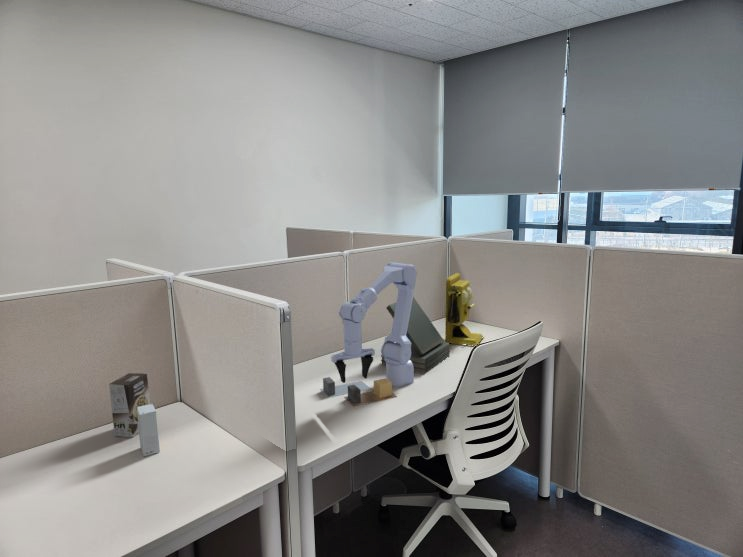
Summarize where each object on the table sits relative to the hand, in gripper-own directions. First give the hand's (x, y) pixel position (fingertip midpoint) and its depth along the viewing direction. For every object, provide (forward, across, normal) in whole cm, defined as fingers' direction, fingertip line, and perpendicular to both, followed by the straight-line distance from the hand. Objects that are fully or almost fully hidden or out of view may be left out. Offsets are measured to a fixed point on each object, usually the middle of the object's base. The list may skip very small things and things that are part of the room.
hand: (354, 379), depth 159 cm
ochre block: (+7, -10, 0) cm, 13 cm away
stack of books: (+9, -39, -26) cm, 47 cm away
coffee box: (+8, +66, -14) cm, 68 cm away
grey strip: (+8, 0, -10) cm, 13 cm away
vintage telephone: (+9, -72, -37) cm, 81 cm away
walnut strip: (+8, -5, 0) cm, 10 cm away
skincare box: (+8, +62, +1) cm, 62 cm away
